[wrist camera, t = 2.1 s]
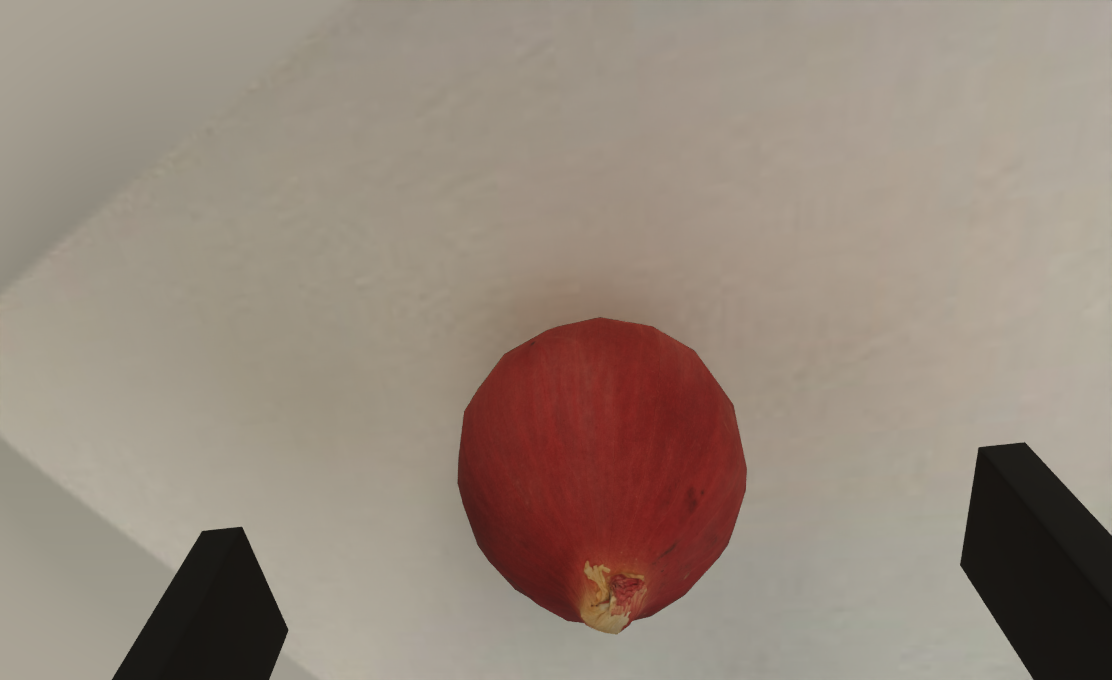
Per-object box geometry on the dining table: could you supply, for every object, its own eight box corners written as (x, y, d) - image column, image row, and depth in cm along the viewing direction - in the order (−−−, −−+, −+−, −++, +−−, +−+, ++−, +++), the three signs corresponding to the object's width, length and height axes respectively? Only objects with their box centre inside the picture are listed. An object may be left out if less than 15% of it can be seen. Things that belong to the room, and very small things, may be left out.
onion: (722, 439, 20) (813, 723, 13) (511, 478, 20) (485, 769, 13) (690, 236, 17) (784, 455, 10) (447, 289, 17) (372, 529, 10)
